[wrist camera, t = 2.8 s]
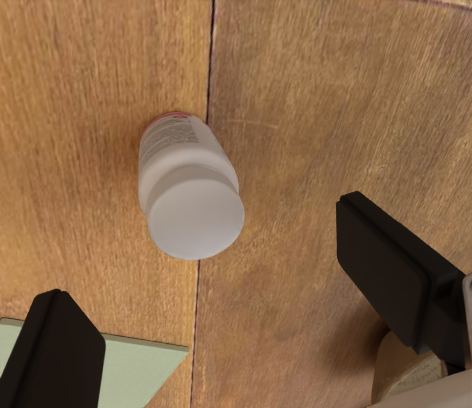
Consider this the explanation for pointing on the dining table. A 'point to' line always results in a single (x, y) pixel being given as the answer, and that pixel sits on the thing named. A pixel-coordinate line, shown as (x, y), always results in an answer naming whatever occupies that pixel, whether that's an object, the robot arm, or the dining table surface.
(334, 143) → the dining table surface
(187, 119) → the pill bottle
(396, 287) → the robot arm
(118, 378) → the mat
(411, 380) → the bowl
